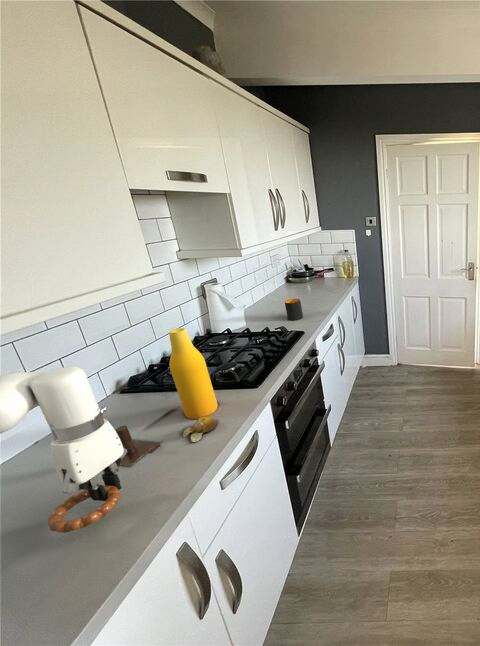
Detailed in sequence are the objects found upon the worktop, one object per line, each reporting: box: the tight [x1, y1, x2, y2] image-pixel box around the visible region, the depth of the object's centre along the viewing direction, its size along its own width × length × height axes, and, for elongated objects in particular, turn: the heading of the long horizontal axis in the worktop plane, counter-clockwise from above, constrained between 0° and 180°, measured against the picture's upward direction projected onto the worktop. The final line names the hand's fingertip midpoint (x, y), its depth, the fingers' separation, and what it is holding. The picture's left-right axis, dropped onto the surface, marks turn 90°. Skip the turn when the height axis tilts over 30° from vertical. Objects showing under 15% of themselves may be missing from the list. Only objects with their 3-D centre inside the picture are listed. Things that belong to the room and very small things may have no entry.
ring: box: [47, 484, 122, 534], centre depth 73 cm, size 11×11×2 cm
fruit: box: [182, 416, 217, 443], centre depth 104 cm, size 8×8×4 cm
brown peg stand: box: [114, 425, 161, 467], centre depth 94 cm, size 9×9×9 cm
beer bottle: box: [168, 327, 218, 420], centre depth 109 cm, size 9×9×29 cm
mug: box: [284, 298, 304, 322], centre depth 198 cm, size 8×12×10 cm
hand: (107, 493), depth 78 cm, fingers closed on ring, 2 cm apart
